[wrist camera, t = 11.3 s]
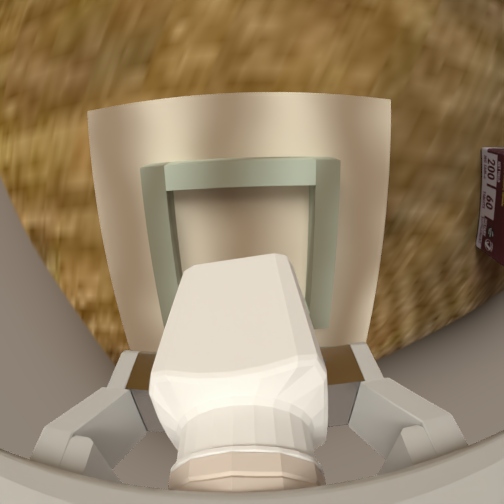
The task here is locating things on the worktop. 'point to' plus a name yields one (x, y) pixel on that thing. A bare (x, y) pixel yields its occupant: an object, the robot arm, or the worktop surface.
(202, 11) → the worktop surface
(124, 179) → the block
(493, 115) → the worktop surface
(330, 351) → the robot arm
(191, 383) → the pepper shaker
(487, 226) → the supplement box
